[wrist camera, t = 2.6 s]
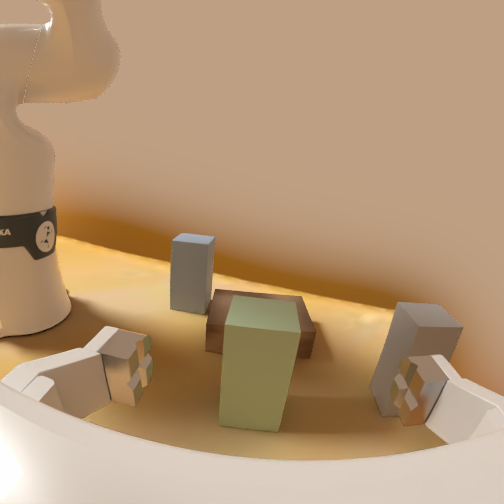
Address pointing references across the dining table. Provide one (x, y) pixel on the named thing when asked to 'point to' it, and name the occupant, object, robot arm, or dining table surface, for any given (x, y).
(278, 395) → the green block
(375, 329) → the dining table surface
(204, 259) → the blue block
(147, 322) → the dining table surface
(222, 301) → the walnut brick
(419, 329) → the grey block
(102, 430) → the robot arm
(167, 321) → the dining table surface
